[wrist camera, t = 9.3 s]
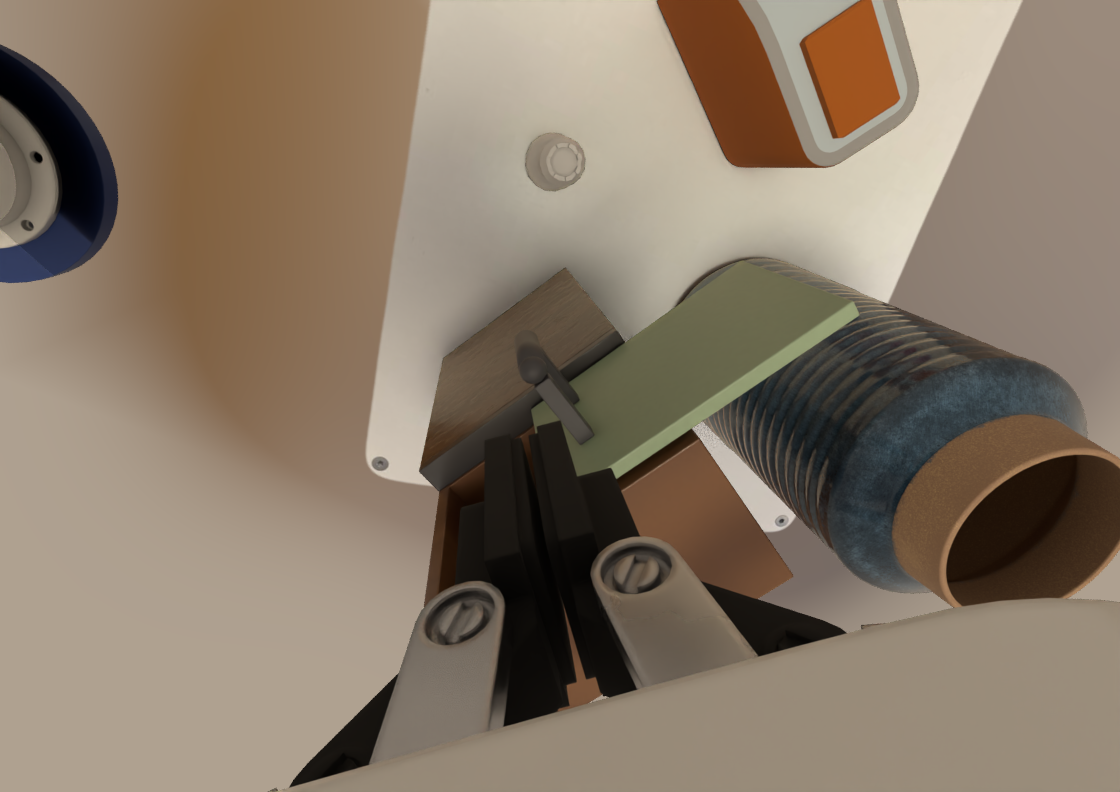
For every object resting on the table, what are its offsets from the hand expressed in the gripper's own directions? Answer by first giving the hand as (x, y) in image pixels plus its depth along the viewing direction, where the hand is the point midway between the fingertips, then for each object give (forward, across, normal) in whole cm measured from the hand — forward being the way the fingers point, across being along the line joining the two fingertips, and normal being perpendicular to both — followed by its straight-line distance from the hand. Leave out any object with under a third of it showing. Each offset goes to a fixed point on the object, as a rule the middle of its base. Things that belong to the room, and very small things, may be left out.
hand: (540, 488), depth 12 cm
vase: (+40, -21, +14) cm, 47 cm away
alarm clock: (+39, -23, -9) cm, 46 cm away
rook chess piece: (+39, -6, -6) cm, 40 cm away
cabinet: (+39, -1, +11) cm, 41 cm away
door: (+18, -5, +2) cm, 19 cm away
